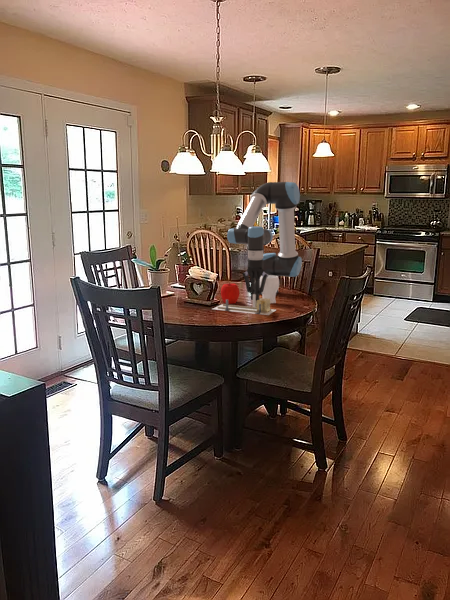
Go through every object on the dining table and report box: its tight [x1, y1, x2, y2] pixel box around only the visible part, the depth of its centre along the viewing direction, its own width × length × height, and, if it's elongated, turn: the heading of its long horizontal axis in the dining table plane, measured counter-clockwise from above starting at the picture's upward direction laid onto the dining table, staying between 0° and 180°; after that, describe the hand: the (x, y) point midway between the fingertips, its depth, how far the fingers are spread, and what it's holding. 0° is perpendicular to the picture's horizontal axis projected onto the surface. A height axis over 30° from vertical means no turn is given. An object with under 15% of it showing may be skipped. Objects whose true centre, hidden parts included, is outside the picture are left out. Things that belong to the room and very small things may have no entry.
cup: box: [260, 275, 280, 304], centre depth 267 cm, size 11×11×15 cm
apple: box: [220, 282, 240, 305], centre depth 266 cm, size 10×10×12 cm
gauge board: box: [212, 300, 277, 316], centre depth 250 cm, size 12×30×7 cm, turn 65°
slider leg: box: [257, 297, 271, 313], centre depth 244 cm, size 8×5×6 cm, turn 155°
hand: (254, 306), depth 248 cm, fingers closed
